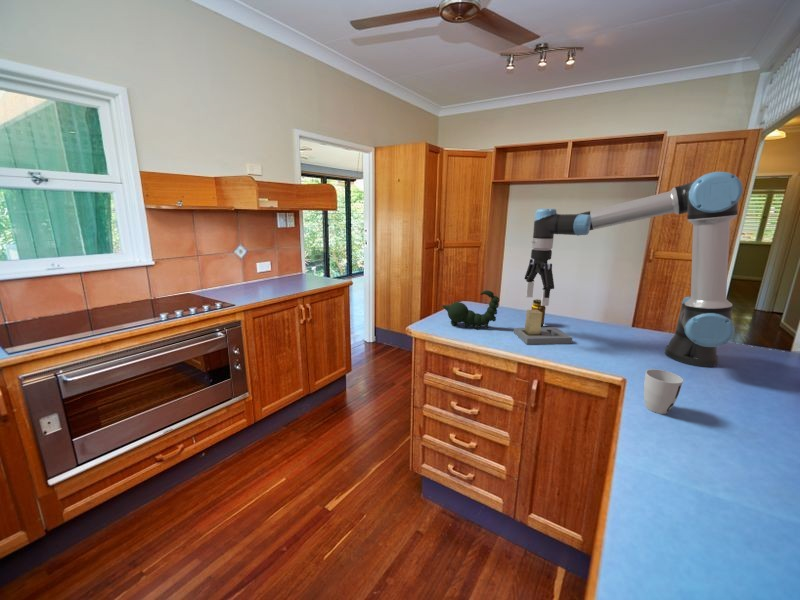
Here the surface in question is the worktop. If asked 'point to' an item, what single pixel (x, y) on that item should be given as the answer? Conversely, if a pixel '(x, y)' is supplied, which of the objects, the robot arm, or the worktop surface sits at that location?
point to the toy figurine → (472, 313)
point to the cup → (661, 390)
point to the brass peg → (533, 323)
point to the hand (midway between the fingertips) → (536, 301)
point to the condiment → (539, 309)
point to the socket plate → (544, 336)
